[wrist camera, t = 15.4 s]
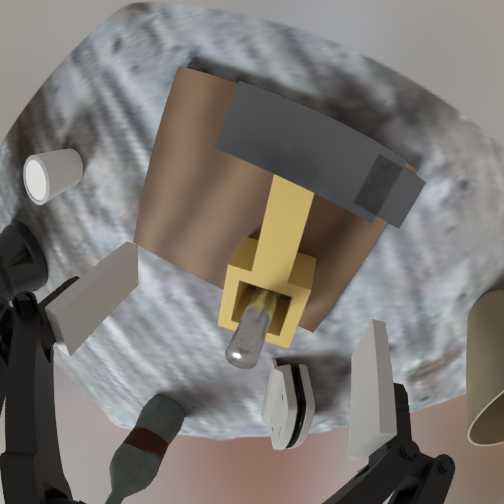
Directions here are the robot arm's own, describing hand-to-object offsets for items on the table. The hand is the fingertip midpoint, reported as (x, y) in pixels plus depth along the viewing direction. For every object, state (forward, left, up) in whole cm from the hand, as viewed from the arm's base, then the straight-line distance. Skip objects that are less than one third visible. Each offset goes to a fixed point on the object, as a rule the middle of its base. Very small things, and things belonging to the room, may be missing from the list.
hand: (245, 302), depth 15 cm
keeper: (0, +8, -17) cm, 18 cm away
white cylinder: (-30, -8, -17) cm, 36 cm away
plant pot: (+30, +1, -17) cm, 34 cm away
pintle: (+2, -7, -17) cm, 18 cm away
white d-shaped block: (+13, -28, -17) cm, 35 cm away
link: (+1, -2, -15) cm, 15 cm away
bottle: (-4, -52, -17) cm, 54 cm away
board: (-3, -2, -17) cm, 17 cm away
